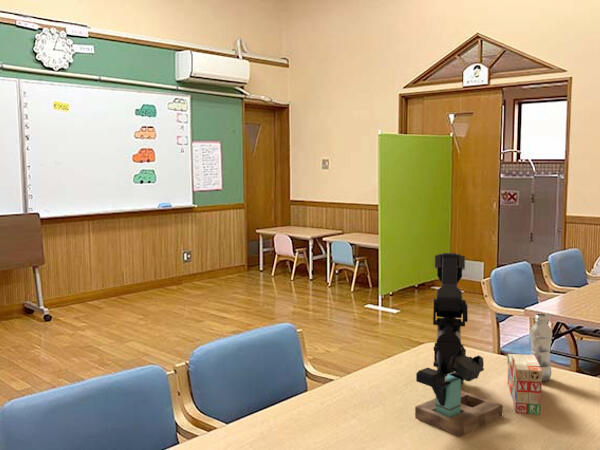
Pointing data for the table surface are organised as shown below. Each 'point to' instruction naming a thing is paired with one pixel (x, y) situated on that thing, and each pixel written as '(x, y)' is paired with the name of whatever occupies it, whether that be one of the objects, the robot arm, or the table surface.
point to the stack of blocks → (525, 383)
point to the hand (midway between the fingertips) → (448, 402)
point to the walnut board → (461, 414)
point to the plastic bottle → (541, 344)
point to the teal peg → (451, 398)
